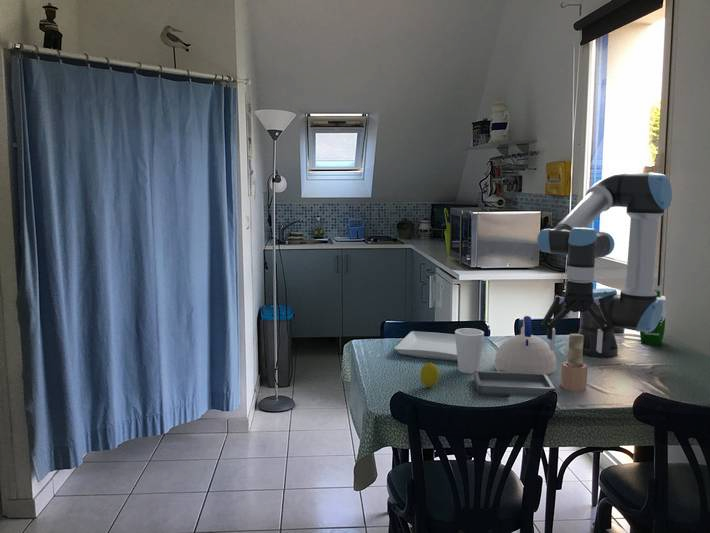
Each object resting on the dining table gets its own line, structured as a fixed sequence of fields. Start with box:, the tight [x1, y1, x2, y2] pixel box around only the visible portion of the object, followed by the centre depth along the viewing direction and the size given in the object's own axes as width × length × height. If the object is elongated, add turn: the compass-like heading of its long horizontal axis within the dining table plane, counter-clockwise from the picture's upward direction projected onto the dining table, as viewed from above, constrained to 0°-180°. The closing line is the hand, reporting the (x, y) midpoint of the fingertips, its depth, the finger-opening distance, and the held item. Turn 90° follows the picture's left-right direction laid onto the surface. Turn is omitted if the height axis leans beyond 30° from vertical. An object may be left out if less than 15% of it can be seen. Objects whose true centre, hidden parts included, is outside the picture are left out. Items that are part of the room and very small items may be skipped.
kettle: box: [493, 315, 557, 375], centre depth 212 cm, size 20×21×18 cm
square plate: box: [393, 330, 458, 362], centre depth 233 cm, size 27×27×4 cm
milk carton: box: [639, 289, 667, 346], centre depth 246 cm, size 9×9×20 cm
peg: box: [567, 333, 584, 367], centre depth 191 cm, size 4×4×16 cm
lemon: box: [420, 361, 440, 389], centre depth 193 cm, size 6×6×8 cm
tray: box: [473, 370, 556, 398], centre depth 193 cm, size 22×14×3 cm, turn 84°
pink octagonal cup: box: [560, 360, 589, 392], centre depth 192 cm, size 7×7×8 cm
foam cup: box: [454, 327, 485, 374], centre depth 210 cm, size 10×9×13 cm
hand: (575, 350), depth 190 cm, fingers open, 13 cm apart
